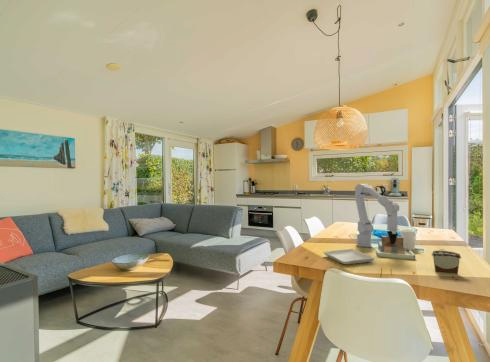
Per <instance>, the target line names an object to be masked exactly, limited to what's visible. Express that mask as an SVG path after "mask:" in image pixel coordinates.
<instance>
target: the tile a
mask: <svg viewBox="0 0 490 362" xmlns="http://www.w3.org/2000/svg"><path fill="white" fill-rule="evenodd" d="M384 253H391V246H384Z"/></svg>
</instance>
